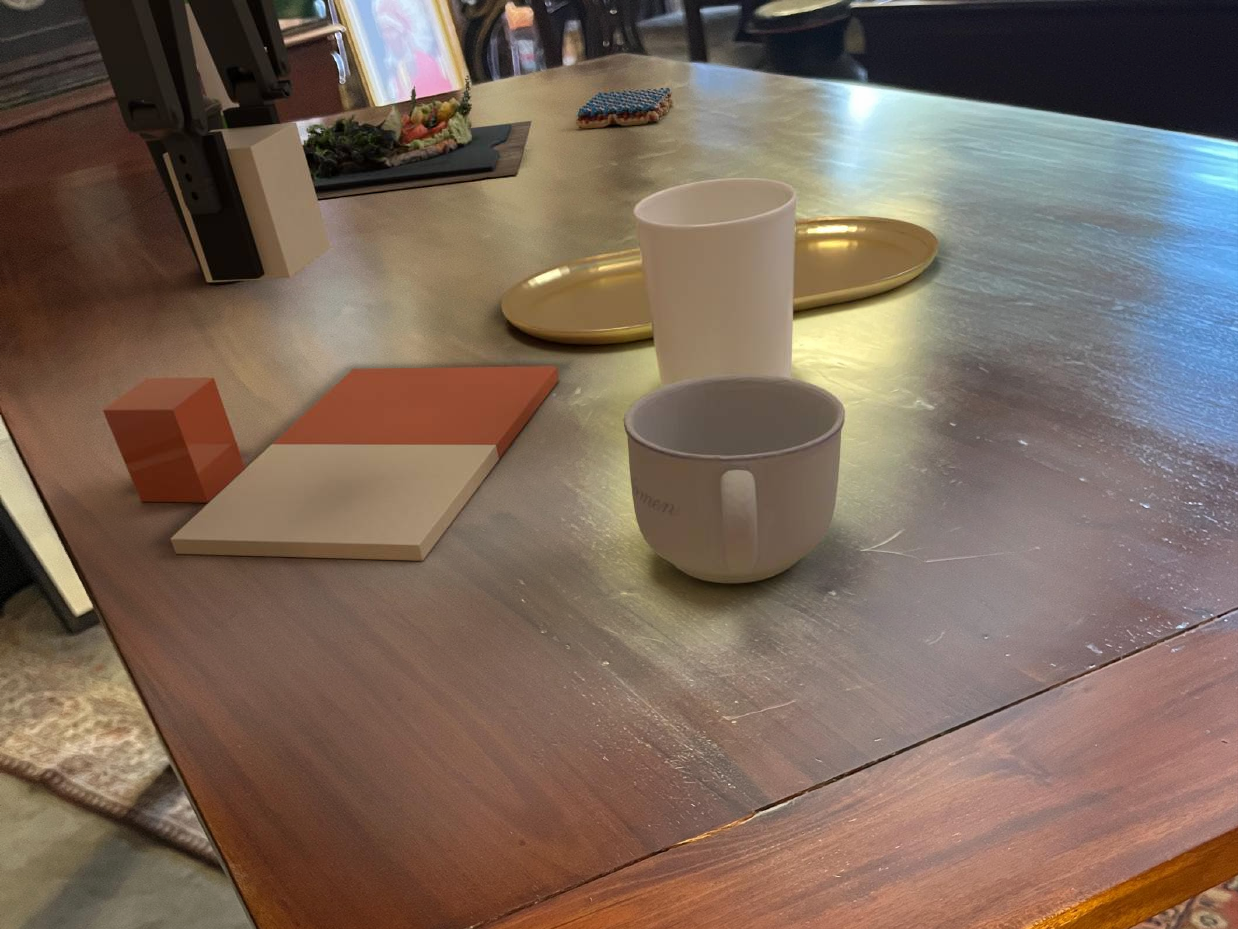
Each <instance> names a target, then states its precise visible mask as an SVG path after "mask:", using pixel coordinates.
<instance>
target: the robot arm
mask: <svg viewBox="0 0 1238 929" xmlns="http://www.w3.org/2000/svg"><path fill="white" fill-rule="evenodd" d="M187 1H188V3H189V6H190V8H191V10H192V13H193V15H194V17H195V20H196V22H197V24H198V27H199V29H200V31H201V34H202V36H203V38H204V41H205V43H206V45H207V48H208V50H209V53H210V55H211V57H212V60H213V62H214V64H215V67H216V69H217V71H218V74H219V76H220V78H221V81H222V83H223V85H224V88H225V90H226V92H227V95H228V97H229V99H230V100H231V101H232V102H233V103H235V104H237V103H238V104H239V107H231V108H228V109H226V110H223V111H222V112H223V115H224V118H225V122H226V125H227V128H228V129H230V128H241V127H252V126H263V125H274V124H282V123H281V120H280V116H279V113H278V108H277V105H276V101H283V100H284V101H285V100H290V99H292V96H293V85H292V81H291V79H289V78H290V76H291V73H292V69H291V68H292V66H291V61H290V58H289V54H288V51H287V50H288V49H287V47H286V44H285V39H284V36H283V32H282V27H281V24H280V20H279V16H278V13H277V10H276V6H275V3H274V0H187ZM82 3H83V6H84V9H85V12H86V15H87V18H88V21H89V23H90V26H91V30H92V32H93V35H94V38H95V41H96V44H97V47H98V50H99V53H100V55H101V56H100V57H101V58H102V61H103V64H104V67H105V70H106V73H107V76H108V79H109V81H110V85H111V88H112V90H113V94H114V96H115V99H116V102H117V105H118V108H119V111H120V113H121V117H122V120H123V122H124V124H125V126H126V129H127V130H128V131H129V132H130V133H132V134H138V136H139V137H140V139H142V140H143V141H144V142H145V141H150V140H162V142H163V143H164V145H165V147H166V149H167V152H168V155H169V158H170V161H171V164H172V167H173V170H174V173H175V176H176V179H177V181H178V182H179V183H178V185H179V188H180V190H181V191H182V192H181V194H182V197H183V200H184V203H185V205H186V207H187V209H188V210H189V212H190V214H191V217H192V220H193V223H194V226H195V229H196V232H197V235H198V238H199V241H200V244H201V247H202V250H203V253H204V256H205V259H206V262H207V265H208V268H209V271H210V274H211V277H212V280H213V281H218V280H242V279H259V278H260V277H262V276H263V275H264V274H265V273H264V269H263V266H262V263H261V260H260V256H259V253H258V250H257V247H256V243H255V240H254V237H253V233H252V230H251V227H250V224H249V220H248V217H247V214H246V211H245V207H244V204H243V201H242V197H241V194H240V191H239V188H238V184H237V181H236V178H235V175H234V171H233V168H232V165H231V161H230V158H229V155H228V152H227V148H226V144H225V141H224V138H223V134H222V131H215V132H208V122H207V117H206V112H205V106H204V101H203V96H202V95H203V91H202V86H201V81H200V80H201V79H200V74H199V69H198V66H197V63H196V59H195V54H194V48H193V43H192V38H191V33H190V27H189V22H188V17H187V11H186V6H185V1H184V0H82ZM179 101H180V102H179ZM180 103H181V105H180ZM242 281H243V280H242Z"/></svg>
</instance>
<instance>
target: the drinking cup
mask: <svg viewBox="0 0 1238 929" xmlns="http://www.w3.org/2000/svg"><path fill="white" fill-rule="evenodd" d="M202 96H203V101H204V106H205V112H206V117H207V122H208V132H210V131H212V130H219V129H224V124H223V120H222V115H221V110H222V109H223V106H222V103H221V101H220V100H217V99H211V98H209V97H207V96H206V94H202ZM179 102H180V101H179ZM180 105H181V103H180ZM144 142H145V144H146V146H147V149H148V152H149V153H150V156H151V158H152V161H153V163H154V165H155V168H156V170H157V172H158V174H159V178H160V179H161V181H162V184H163V186H164V188H165V191H166V193H167V196H168V198H169V200H170V202H171V205H172V207H173V209H174V212H175V214H176V216H177V219H178V221H179V223H180V226H181V228H182V231H183V232H184V235H185V237H186V240H187V242H188V244H189V246H190V249H191V251H192V254H193V256H194V259H195V261H196V263H197V265H198V268H199V270H200V272H201V274H202V277H203V279H204V282H205V283H206V284H209V285H214V286H215V285H216V286H217V285H227V284H233V283H237V282H239V281H224V282H207V281H206V278H205V275H204V272H203V269H202V266H201V264H200V261H199V258H198V255H197V252H196V249H195V246H194V243H193V240H192V238H191V235H190V232H189V229H188V226H187V223H186V220H185V217H184V215H183V212H182V209H181V206H180V203H179V200H178V197H177V194H176V191H175V189H174V186H173V183H172V180H171V177H170V174H169V171H168V168H167V165H166V163H165V160H164V157H163V155H164V154H165V153H167V149H166V147H165V145H164V143H163V142H162V140H150V141H145V140H144Z"/></svg>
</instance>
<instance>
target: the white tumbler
mask: <svg viewBox="0 0 1238 929" xmlns="http://www.w3.org/2000/svg"><path fill="white" fill-rule="evenodd" d="M797 204H798V192H797V190H796V189H795V188H794V186H792V185H790V184H788V183H785V182H783V181H780V180H775V179H769V178H761V177H760V178H759V177H727V178H717V179H716V178H715V179H708V180H707V179H705V180H701V181H700V180H699V181H694V182H688V183H683V184H679V185H675V186H672V187H668V188H665V189H662V190H660V191H657V192H654V193H652V194H650V195H648V196H646V197H644V198H643V199H641V200H639V201H638V202H637V203H636V205H634V207H633V210H632V218H633V222H634V225H635V231H636V235H637V241H638V242H637V243H638V248H639V249H640V255H641V262H642V268H643V274H644V281H645V287H646V293H647V300H648V306H649V312H650V319H651V325H652V331H653V338H652V339H653V343H654V349H655V356H656V362H657V369H658V375H659V380H660V381H659V382H660V387H663V386H666V385H669V384H673V383H676V382H679V381H683V380H688V379H693V378H698V377H703V376H714V375H727V374H749V375H765V376H779V377H785V378H791V379H792V365H793V364H792V361H793V360H792V359H793V334H794V332H793V329H794V328H793V327H794V311H793V296H794V259H795V223H796V220H797V219H796V218H797Z"/></svg>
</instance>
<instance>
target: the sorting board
mask: <svg viewBox="0 0 1238 929" xmlns="http://www.w3.org/2000/svg"><path fill="white" fill-rule="evenodd" d="M559 380H560V377H559V371H558V366H557V365H534V366H533V365H532V366H531V365H530V366H529V365H528V366H527V365H525V366H522V365H521V366H471V367H470V366H467V367H465V366H461V367H460V366H459V367H457V366H453V367H397V368H396V367H394V368H393V367H390V368H389V367H388V368H385V367H384V368H353V369H351V370H350V371H349V372H348V373H347V374H346V375H345V376H343V378H342V379H341V380H339V381H338V382H337V383H336V384H335V385H334V386H333V387H332V388H331V389H330V390H329V391H328V392H326V393H325V394H324V395H323V396H322V397H321V398H320V399H319V400H318V401H317V402H316V403H315V404H314V405H313V406H312V407H310V408H309V409H308V410H307V411H306V412H305V413H304V414H302V416H301V417H299V419H297V420H296V421H295V422H294V423H293V424H292V425H290V427H289V428H288V429H287V430H286V431H285V432H283V433H282V434H281V435H280V436H279V437H278V438H277V439H276V440H275V441H273V443H272V444H270V445H269V446H268V447H267V448H266V449H265V450H264V451H263V452H262V453H260V455H258V456H257V457H256V458H255V459H254V460H253V461H251V463H250V464H249V465H248V466H247V467H245V469H244V470H243V471H242V472H241V473H239V474H238V475H237V476H236V477H235V478H234V479H233V480H232V481H231V482H230V483H229V484H228V485H227V486H225V487H224V488H223V489H222V490H221V491H220V492H219V493H218V494H217V495H216V496H215V497H214V498H213V499H212V500H210V501H209V502H208V503H206V505H205V506H204V507H202V508H201V510H199V511H198V512H197V513H196V514H195V515H194V516H193V517H192V518H191V519H189V520H188V521H187V523H185V524H184V525H183V526H182V527H181V528H180V529H179V530H178V531H177V532H176V533H175V534H173V535H172V536H171V537H170V539H169V540H170V541H171V545H172V547H173V549H174V552H175V554H177V555H208V556H211V555H213V556H240V557H241V556H243V557H245V556H247V557H280V558H281V557H282V558H314V559H316V558H317V559H345V560H346V559H349V560H352V559H353V560H384V561H385V560H386V561H387V560H388V561H419V562H421V561H422V562H423V561H424V560H425V559H426V557H427V556H428V554H430V552H431V550H432V549H433V548H434V546H435V545H436V544H437V543H438V542H439V540H440V538H441V537H443V534H444V533H445V532H446V530H447V529H448V528H449V527H450V525H451V524H452V523H453V521H454V520H455V518H456V517H457V516H458V515H459V513H460V512H462V510H463V508H464V506H465V505H466V504H467V503H468V501H469V500H470V499H471V498H472V496H473V495H474V493H475V492H476V491H477V489H478V488H479V487H480V486H481V485H482V483H483V482H484V481H485V479H486V478H487V476H488V475H489V473H490V472H491V471H492V469H494V467H495V465H496V464H497V463H498V462H499V461H500V459H501V457H502V456H503V455H504V453H505V452H506V451H507V449H508V448H509V447H510V445H511V444H512V443H513V441H514V440H515V439H516V437H517V436H518V435H519V434H520V432H521V431H522V429H523V428H524V427H525V426H526V425H527V423H528V421H529V420H530V419H531V417H533V415H534V414H535V412H536V411H537V410H538V409H539V407H540V405H541V404H542V403H543V402H544V400H545V399H546V398H547V396H548V395H549V393H550V392H551V391H552V389H554V387H555V386H556V384H557V383H558V382H559Z"/></svg>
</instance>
